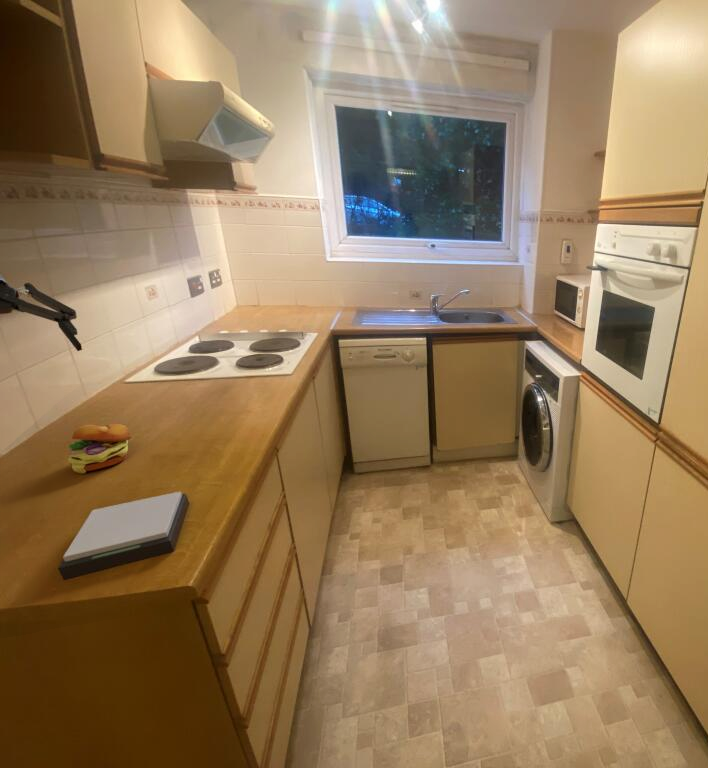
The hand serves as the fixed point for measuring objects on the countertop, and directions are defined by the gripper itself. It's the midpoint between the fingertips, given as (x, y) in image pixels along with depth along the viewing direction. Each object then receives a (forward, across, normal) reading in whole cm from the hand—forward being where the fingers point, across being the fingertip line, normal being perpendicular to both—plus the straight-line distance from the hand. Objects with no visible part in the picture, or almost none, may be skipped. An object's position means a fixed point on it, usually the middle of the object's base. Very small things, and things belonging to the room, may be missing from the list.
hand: (38, 360), depth 90 cm
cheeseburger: (+22, +1, -10) cm, 25 cm away
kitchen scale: (+43, +6, +18) cm, 47 cm away
